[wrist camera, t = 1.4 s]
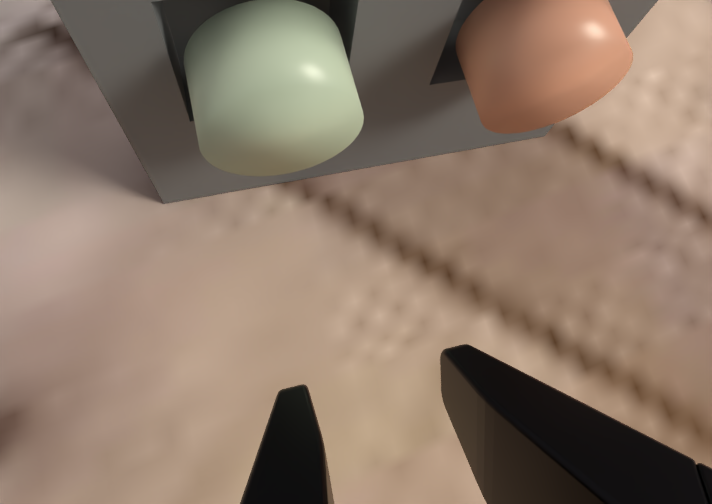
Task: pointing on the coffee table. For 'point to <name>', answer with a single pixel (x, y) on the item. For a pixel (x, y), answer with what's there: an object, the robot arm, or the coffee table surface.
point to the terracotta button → (540, 60)
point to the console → (367, 63)
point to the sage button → (271, 88)
